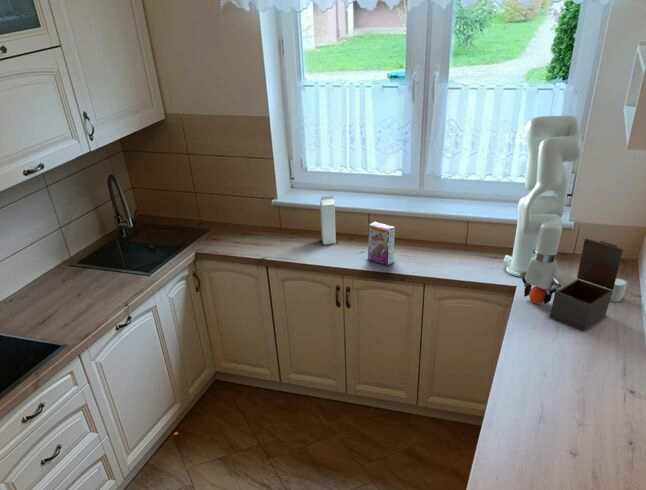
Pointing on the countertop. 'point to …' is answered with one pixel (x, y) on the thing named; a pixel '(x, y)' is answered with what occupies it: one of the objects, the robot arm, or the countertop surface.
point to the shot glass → (618, 290)
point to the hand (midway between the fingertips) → (536, 298)
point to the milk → (328, 219)
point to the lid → (599, 263)
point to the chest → (580, 304)
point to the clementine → (537, 295)
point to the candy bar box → (381, 243)
